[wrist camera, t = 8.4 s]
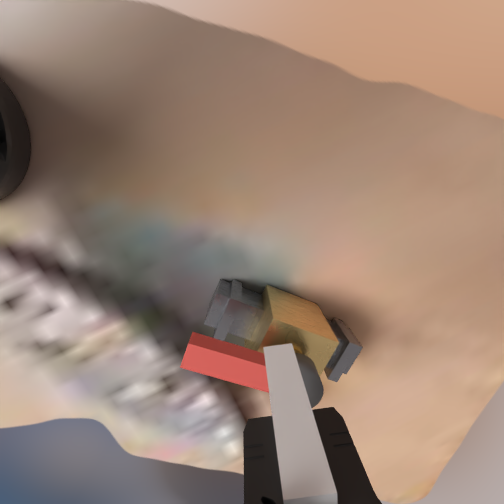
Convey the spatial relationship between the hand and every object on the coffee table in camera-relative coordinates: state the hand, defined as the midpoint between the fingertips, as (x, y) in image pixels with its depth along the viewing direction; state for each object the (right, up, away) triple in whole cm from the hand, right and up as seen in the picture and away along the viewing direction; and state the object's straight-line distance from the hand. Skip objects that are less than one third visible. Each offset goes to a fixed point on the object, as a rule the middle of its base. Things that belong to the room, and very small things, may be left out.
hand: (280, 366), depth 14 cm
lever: (-1, -4, +10) cm, 10 cm away
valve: (+2, -2, +19) cm, 20 cm away
